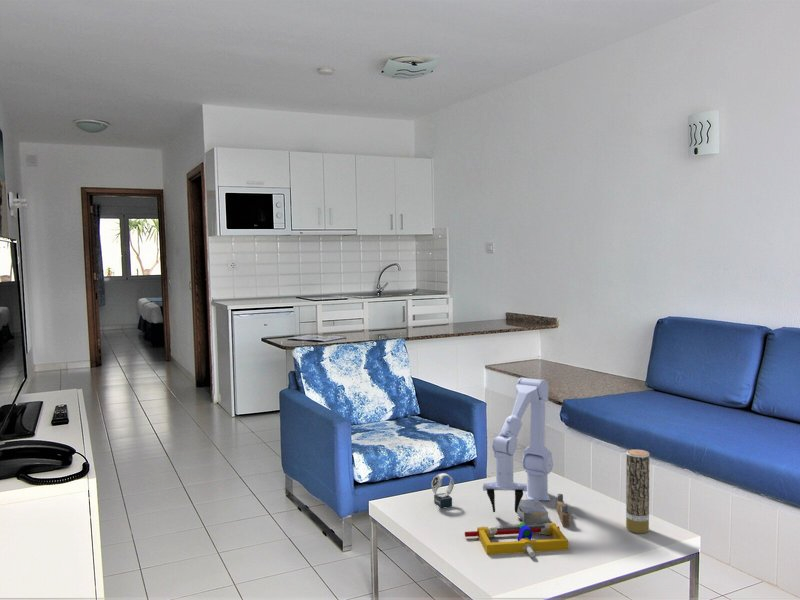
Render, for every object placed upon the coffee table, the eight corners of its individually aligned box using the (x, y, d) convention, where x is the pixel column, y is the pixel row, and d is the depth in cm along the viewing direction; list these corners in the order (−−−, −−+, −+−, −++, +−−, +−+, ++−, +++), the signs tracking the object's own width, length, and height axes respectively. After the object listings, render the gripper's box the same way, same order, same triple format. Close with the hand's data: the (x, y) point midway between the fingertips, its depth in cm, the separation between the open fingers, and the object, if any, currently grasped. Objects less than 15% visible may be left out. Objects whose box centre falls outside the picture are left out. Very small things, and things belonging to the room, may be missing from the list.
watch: (429, 504, 239) (428, 473, 238) (449, 500, 242) (449, 470, 241) (435, 509, 234) (435, 478, 233) (456, 505, 237) (456, 475, 236)
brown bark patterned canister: (653, 530, 213) (653, 453, 211) (640, 536, 209) (640, 457, 207) (634, 523, 219) (635, 448, 217) (621, 529, 215) (622, 452, 213)
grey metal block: (514, 511, 232) (514, 500, 231) (537, 510, 232) (537, 499, 232) (523, 525, 220) (523, 513, 219) (548, 524, 220) (547, 512, 220)
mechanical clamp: (463, 518, 211) (556, 513, 214) (464, 537, 212) (556, 532, 215) (475, 542, 193) (577, 536, 196) (476, 564, 194) (577, 557, 196)
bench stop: (556, 509, 232) (556, 492, 232) (562, 509, 232) (562, 492, 232) (562, 526, 217) (562, 508, 217) (569, 526, 217) (569, 508, 217)
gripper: (483, 475, 222) (483, 515, 223) (527, 475, 221) (528, 516, 222) (482, 468, 229) (482, 507, 230) (525, 468, 228) (525, 508, 229)
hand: (504, 511), depth 226 cm, fingers open, 7 cm apart
